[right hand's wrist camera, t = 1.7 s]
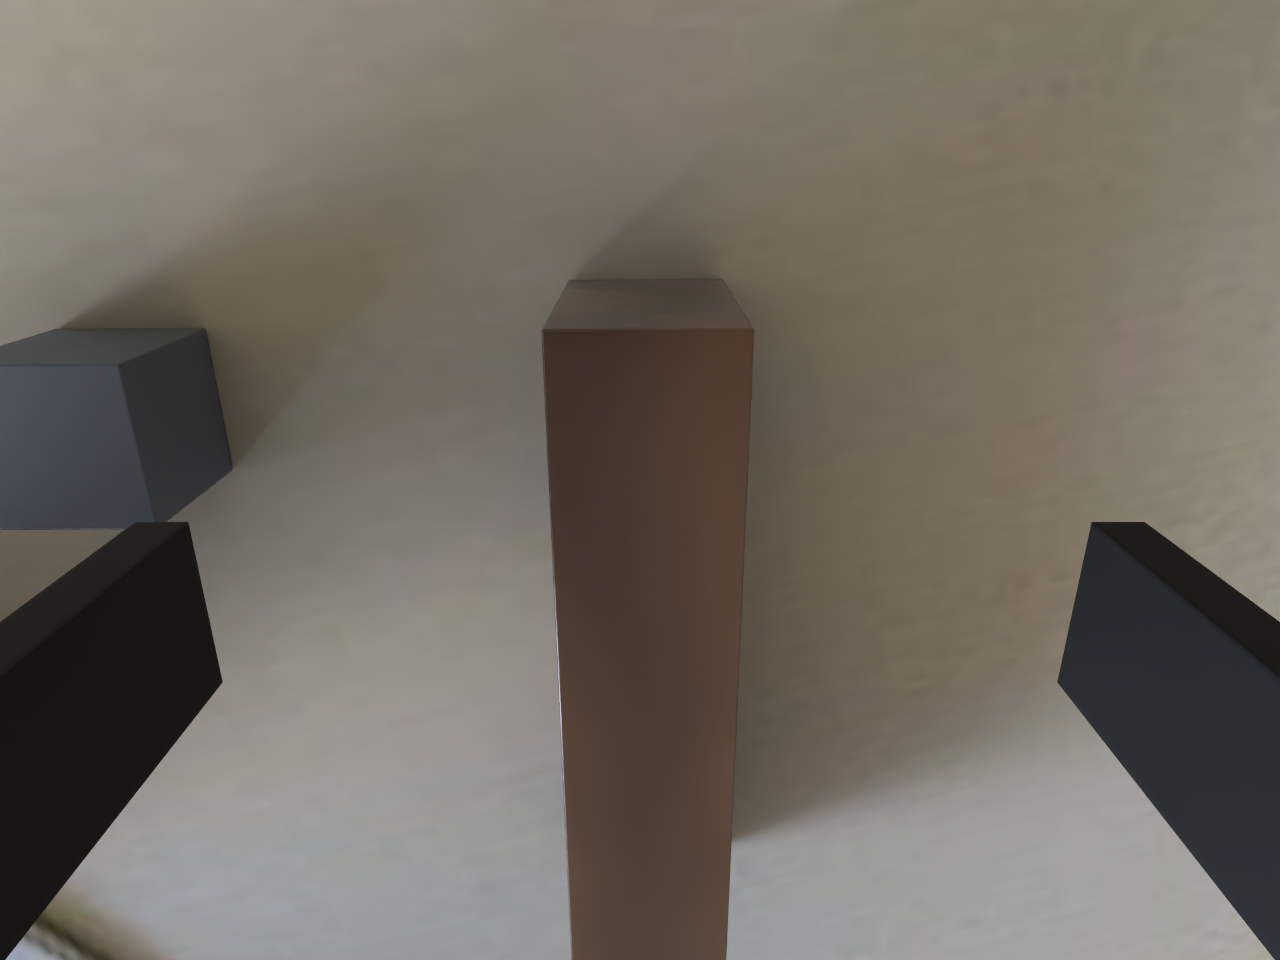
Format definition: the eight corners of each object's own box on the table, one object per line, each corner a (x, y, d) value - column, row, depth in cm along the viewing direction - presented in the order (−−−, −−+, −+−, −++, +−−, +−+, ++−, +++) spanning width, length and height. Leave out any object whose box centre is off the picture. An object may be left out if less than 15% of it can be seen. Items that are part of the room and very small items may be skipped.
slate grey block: (205, 327, 28) (118, 364, 23) (233, 469, 30) (157, 529, 25) (54, 328, 28) (-64, 365, 23) (91, 470, 30) (-11, 530, 25)
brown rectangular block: (723, 278, 27) (754, 328, 20) (705, 851, 36) (723, 1035, 29) (568, 279, 27) (540, 329, 20) (588, 852, 36) (575, 1035, 29)
